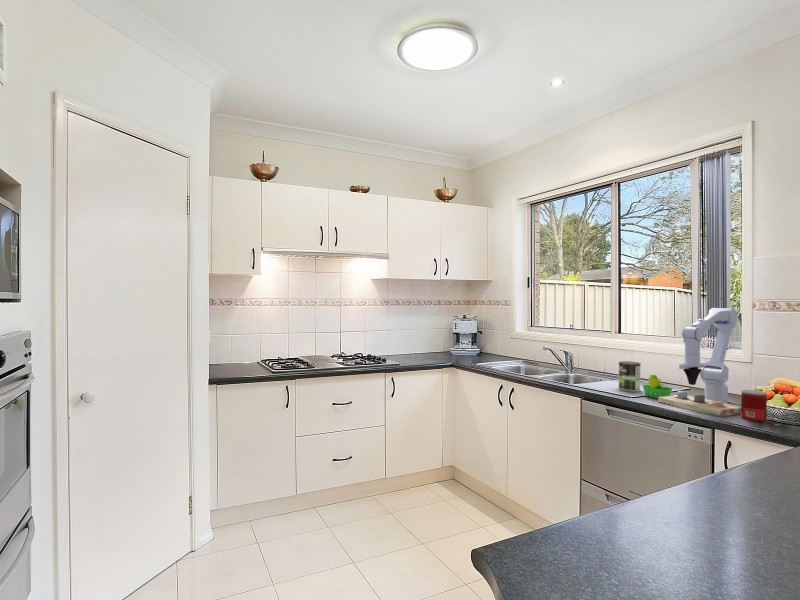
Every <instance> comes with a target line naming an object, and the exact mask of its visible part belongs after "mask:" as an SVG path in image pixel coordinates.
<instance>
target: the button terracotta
mask: <svg viewBox="0 0 800 600" xmlns="http://www.w3.org/2000/svg"><path fill="white" fill-rule="evenodd" d="M712 406H715V407H720V408H721V407H724V402H720V401H712Z"/></svg>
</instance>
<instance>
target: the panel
mask: <svg viewBox="0 0 800 600" xmlns="http://www.w3.org/2000/svg"><path fill="white" fill-rule="evenodd" d="M659 402H662V403H661V404H663V403H666V404H665V405H668V404H670V405H669V406H672V405H673V406H672V407H676V406H677V408H681V409H686V410H689V411H693V412H694V411H695V412H699V413H704V414H708V415H711V416H716V417H727V416H733V414H734V415H740V413H741V406H740V405H737V404H731V403H724V407H721V408H720V407H715V406H712V400H707V399H705V403H702V404H701V403H696V402H694V396H692V395H688V399H686V400H682V399H678V398H677V394H674V395H670V396H663V397H658V399H657V403H659ZM726 415H727V416H726Z"/></svg>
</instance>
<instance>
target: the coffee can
mask: <svg viewBox="0 0 800 600" xmlns="http://www.w3.org/2000/svg"><path fill="white" fill-rule="evenodd" d="M641 364H642V363H641V362H638V361H629V360H628V361H626V360H625V361H619V362H618V390H620V391H623V392H640V391H641Z"/></svg>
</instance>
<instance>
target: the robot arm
mask: <svg viewBox="0 0 800 600" xmlns="http://www.w3.org/2000/svg"><path fill="white" fill-rule="evenodd" d="M738 317H739V316H738V312H737V310H736V309H735V307H732V308H731V307H730V308H729V307H728V308H727V307H726V308H724V307H711V308H710V309H709V310H708V314H707V316H705V317H704V318H699V319H697V320H696V322H694V323H692V325H690V326H686V327H683V329H682V333H681V337H682V339H683V343H684V363H680V364H679V366H678V369H679V370H683V372H684V374H685V375H686V377H687V382H688V385H691V386H695V385H696V384H697V381H698V378H699V376H700V378H701V380H702V382H704V395H705V399H707V400H712V401H720V402H724V403H727V404H729V403H730V402H731V401H730V400H729V387H728V385H727V384H726V382H728V380H729V372H730V371H729V367H728V366H727V365H726V364H725V359H726V355H727V351H728V347H729V344H730V339H731V335H732V332H733V329H734V328H736V324H737V322H738ZM711 325H713V326H714V327H715V328H717V329H718V331H717V335H716V337H715V342H714V345H713V349H712V353H711V357H710V360H708V361H706V362H701V341H702V340H703V338H704V335H705V333H707V332H708V331H709V330H710V329H711ZM728 402H729V403H728Z"/></svg>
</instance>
